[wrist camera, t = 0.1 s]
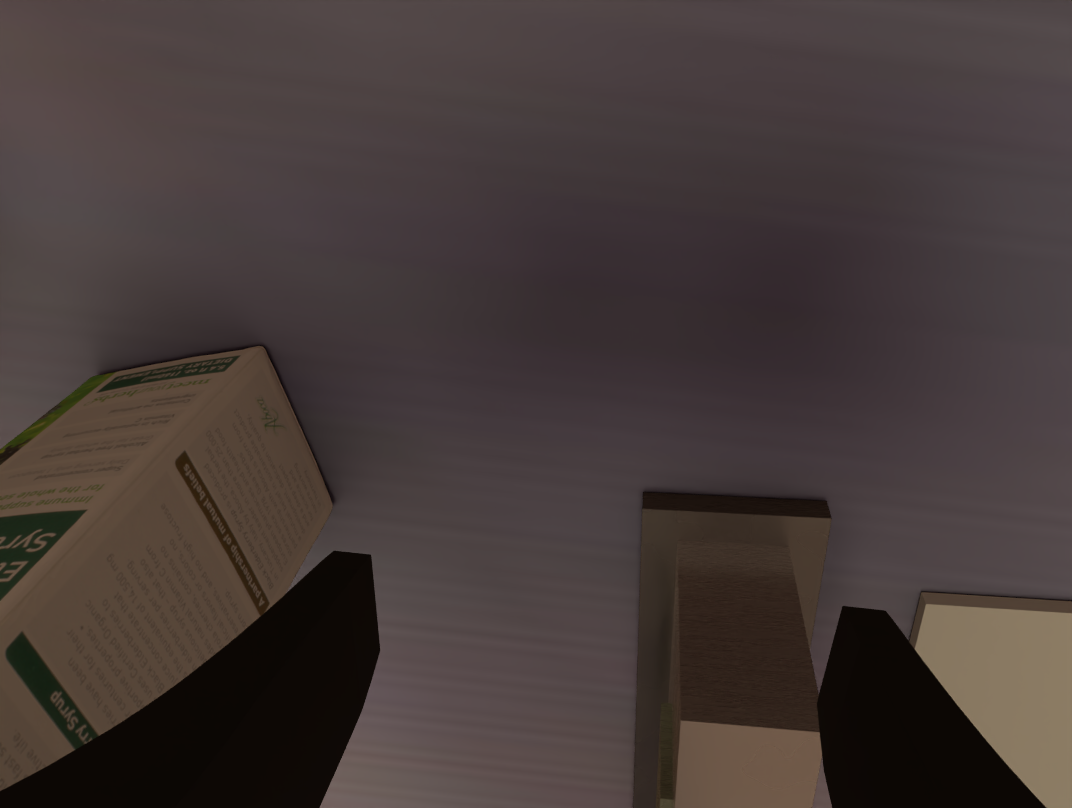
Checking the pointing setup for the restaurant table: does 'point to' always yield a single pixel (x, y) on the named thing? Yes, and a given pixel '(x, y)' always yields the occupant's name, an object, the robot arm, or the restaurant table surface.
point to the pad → (1007, 679)
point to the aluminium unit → (728, 652)
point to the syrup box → (142, 541)
